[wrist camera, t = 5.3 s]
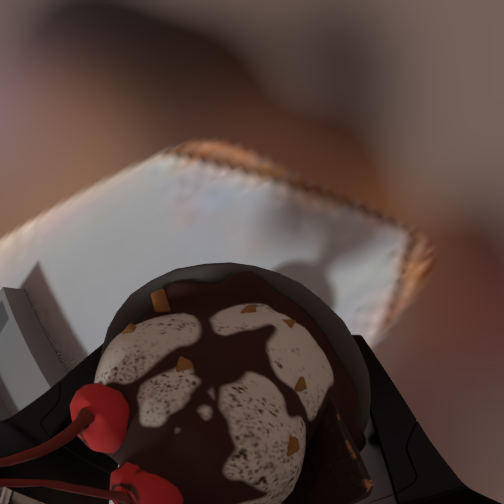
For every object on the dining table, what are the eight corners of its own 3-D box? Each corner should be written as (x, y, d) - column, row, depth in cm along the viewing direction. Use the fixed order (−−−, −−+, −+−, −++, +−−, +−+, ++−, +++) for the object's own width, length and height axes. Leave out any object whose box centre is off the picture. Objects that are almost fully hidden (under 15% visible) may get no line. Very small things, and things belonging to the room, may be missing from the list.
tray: (97, 415, 19) (76, 426, 16) (41, 460, 18) (25, 469, 15) (24, 289, 21) (2, 287, 18) (-16, 359, 21) (-34, 360, 18)
